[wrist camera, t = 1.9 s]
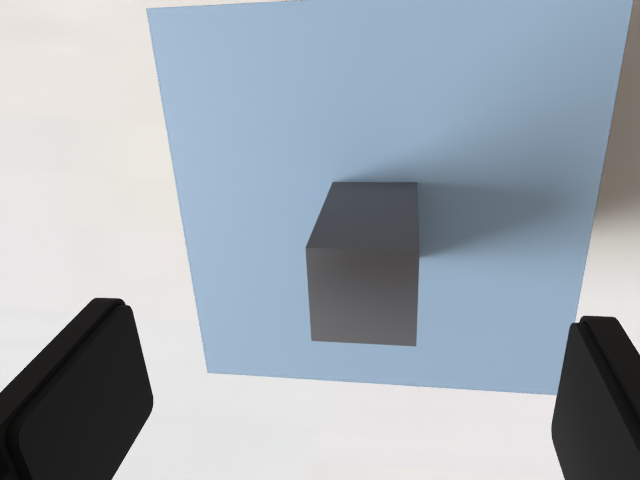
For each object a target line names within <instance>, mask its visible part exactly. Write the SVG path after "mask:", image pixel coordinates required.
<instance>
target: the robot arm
mask: <svg viewBox="0 0 640 480" xmlns="http://www.w3.org/2000/svg"><path fill="white" fill-rule="evenodd" d="M152 408H153V394H152V390H151V386H150V382H149V378H148V374H147V369H146V365H145V361H144V357H143V353H142V349H141V344H140V340H139V336H138V332H137V328H136V324H135V319H134V315H133V311H132V309H131V307H130V306H128V305H125V302H124V301H123V300H122V299H117V298H94V299H93V300H92V301H91V302H90V303H89V304H88V305H87V306H86V307H85V308H84V309H83V310H82V311H81V312H80V313H79V314H78V315H77V316H76V317H75V318H74V319H73V320H72V321H71V322H70V323H69V324H68V325H67V326H66V327H65V328H64V329H63V330H62V331H61V332H60V333H59V334H58V335H57V336H56V337H55V338H54V339H53V340H52V341H51V342H50V343H49V344H48V345H47V346H46V347H45V348H44V349H43V350H42V351H41V352H40V353H39V354H38V355H37V356H36V357H35V358H34V359H33V360H32V361H31V362H30V363H29V364H28V365H27V366H26V367H25V368H24V369H23V370H22V371H21V372H20V373H19V374H18V375H17V376H16V377H15V378H14V379H13V380H12V381H11V382H10V383H9V384H8V385H7V386H6V387H5V388H4V389H3V391H2V392H1V393H0V480H112V478H113V476H114V475H115V473H116V471H117V470H118V468H119V466H120V464H121V463H122V461H123V459H124V458H125V456H126V454H127V453H128V451H129V449H130V448H131V446H132V444H133V443H134V441H135V439H136V437H137V436H138V434H139V432H140V431H141V429H142V427H143V426H144V424H145V422H146V421H147V419H148V417H149V415H150V414H151V411H152ZM552 440H553V444H554V447H555V450H556V453H557V456H558V460H559V463H560V466H561V469H562V472H563V475H564V478H565V480H640V355H639V353H638V351H637V350H636V348H635V347H634V345H633V344H632V342H631V340H630V339H629V337H628V336H627V334H626V332H625V331H624V329H623V328H622V326H621V324H620V323H619V321H618V320H617V319H616V318H615V317H602V316H583V317H582V318H581V319H580V322H579V323H572V324H571V325H570V328H569V333H568V339H567V344H566V349H565V355H564V360H563V366H562V371H561V377H560V382H559V387H558V393H557V398H556V404H555V409H554V414H553V420H552Z"/></svg>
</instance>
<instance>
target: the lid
mask: <svg viewBox="0 0 640 480" xmlns="http://www.w3.org/2000/svg"><path fill="white" fill-rule="evenodd" d="M632 5H633V0H299V1H280V2H261V3H241V4H222V5H203V6H183V7H164V8H146V10H147V16H148V22H149V28H150V34H151V40H152V46H153V52H154V58H155V64H156V70H157V75H158V81H159V87H160V93H161V99H162V105H163V111H164V117H165V123H166V129H167V135H168V141H169V147H170V153H171V159H172V164H173V170H174V176H175V182H176V188H177V194H178V200H179V206H180V212H181V218H182V224H183V230H184V236H185V242H186V247H187V253H188V259H189V265H190V271H191V277H192V283H193V289H194V295H195V301H196V307H197V313H198V319H199V325H200V330H201V336H202V342H203V348H204V354H205V360H206V366H207V372H208V373H219V374H235V375H251V376H266V377H282V378H297V379H313V380H329V381H344V382H360V383H375V384H391V385H406V386H422V387H438V388H453V389H469V390H484V391H500V392H515V393H531V394H547V395H557V393H558V387H559V382H560V377H561V371H562V366H563V360H564V355H565V349H566V344H567V339H568V333H569V328H570V325H571V324H572V323H575V319H576V314H577V308H578V303H579V297H580V292H581V286H582V281H583V275H584V270H585V264H586V259H587V253H588V248H589V242H590V237H591V231H592V226H593V220H594V215H595V209H596V204H597V198H598V192H599V187H600V181H601V176H602V170H603V165H604V159H605V154H606V148H607V143H608V137H609V132H610V126H611V121H612V115H613V110H614V104H615V99H616V93H617V88H618V82H619V77H620V71H621V66H622V60H623V55H624V49H625V44H626V38H627V33H628V27H629V22H630V16H631V11H632Z"/></svg>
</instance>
